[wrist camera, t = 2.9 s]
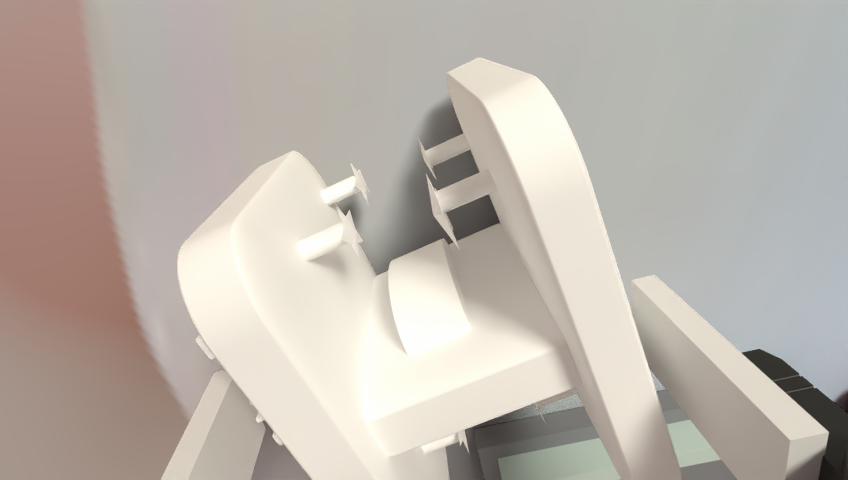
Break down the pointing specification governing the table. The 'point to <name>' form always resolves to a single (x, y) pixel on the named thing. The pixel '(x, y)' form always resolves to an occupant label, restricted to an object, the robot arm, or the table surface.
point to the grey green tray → (583, 448)
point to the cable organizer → (428, 303)
